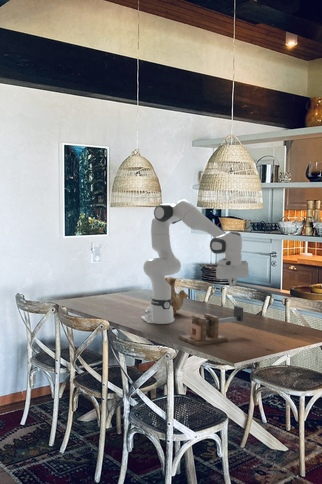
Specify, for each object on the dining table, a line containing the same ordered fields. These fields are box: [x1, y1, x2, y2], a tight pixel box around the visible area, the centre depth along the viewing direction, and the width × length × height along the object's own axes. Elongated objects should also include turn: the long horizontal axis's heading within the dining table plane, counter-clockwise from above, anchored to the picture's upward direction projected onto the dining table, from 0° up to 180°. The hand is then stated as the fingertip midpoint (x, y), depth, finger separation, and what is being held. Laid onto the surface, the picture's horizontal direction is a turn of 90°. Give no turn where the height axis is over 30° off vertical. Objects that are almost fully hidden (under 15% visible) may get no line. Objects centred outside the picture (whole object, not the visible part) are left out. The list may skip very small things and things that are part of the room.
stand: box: [178, 313, 229, 346], centre depth 276 cm, size 16×20×12 cm
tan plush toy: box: [165, 276, 190, 316], centre depth 337 cm, size 18×19×25 cm
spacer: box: [189, 323, 201, 340], centre depth 273 cm, size 7×2×7 cm, turn 31°
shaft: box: [206, 305, 244, 325], centre depth 282 cm, size 6×25×8 cm, turn 121°
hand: (232, 286), depth 285 cm, fingers closed
